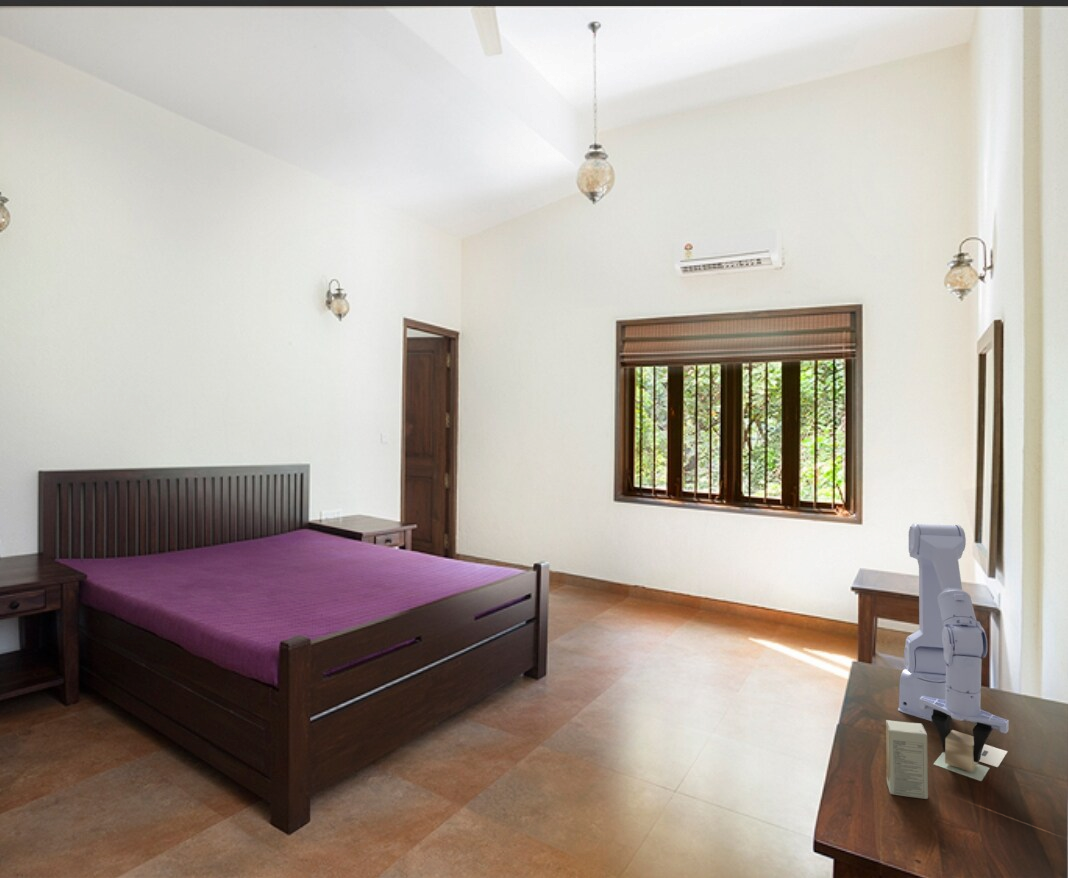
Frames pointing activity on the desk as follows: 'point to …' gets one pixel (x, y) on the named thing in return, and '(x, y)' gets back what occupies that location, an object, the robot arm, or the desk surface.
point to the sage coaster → (975, 774)
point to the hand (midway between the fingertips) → (961, 755)
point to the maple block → (960, 750)
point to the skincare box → (906, 759)
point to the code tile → (992, 755)
